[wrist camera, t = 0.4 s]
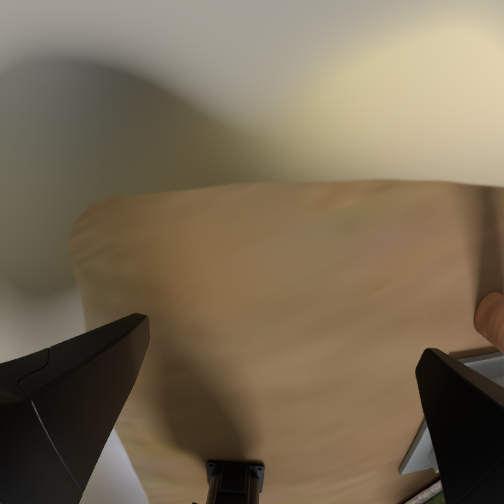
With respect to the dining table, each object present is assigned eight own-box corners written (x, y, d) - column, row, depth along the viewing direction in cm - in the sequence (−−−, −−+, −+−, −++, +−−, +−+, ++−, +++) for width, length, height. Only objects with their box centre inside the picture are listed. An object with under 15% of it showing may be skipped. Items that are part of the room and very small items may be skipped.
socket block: (493, 441, 28) (504, 457, 24) (398, 470, 29) (406, 491, 25) (542, 341, 24) (560, 354, 20) (448, 360, 25) (467, 381, 21)
